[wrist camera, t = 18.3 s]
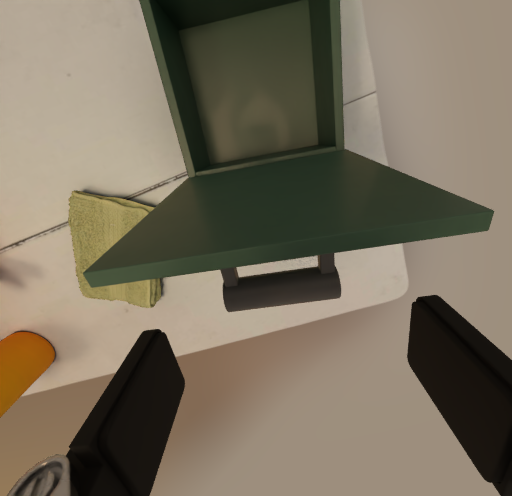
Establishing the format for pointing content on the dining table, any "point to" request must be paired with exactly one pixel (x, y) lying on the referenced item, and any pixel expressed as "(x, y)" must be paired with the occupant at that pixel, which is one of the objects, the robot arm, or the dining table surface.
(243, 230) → the lid
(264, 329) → the dining table surface
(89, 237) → the washcloth
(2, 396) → the beer bottle
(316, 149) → the chest
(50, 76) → the dining table surface
